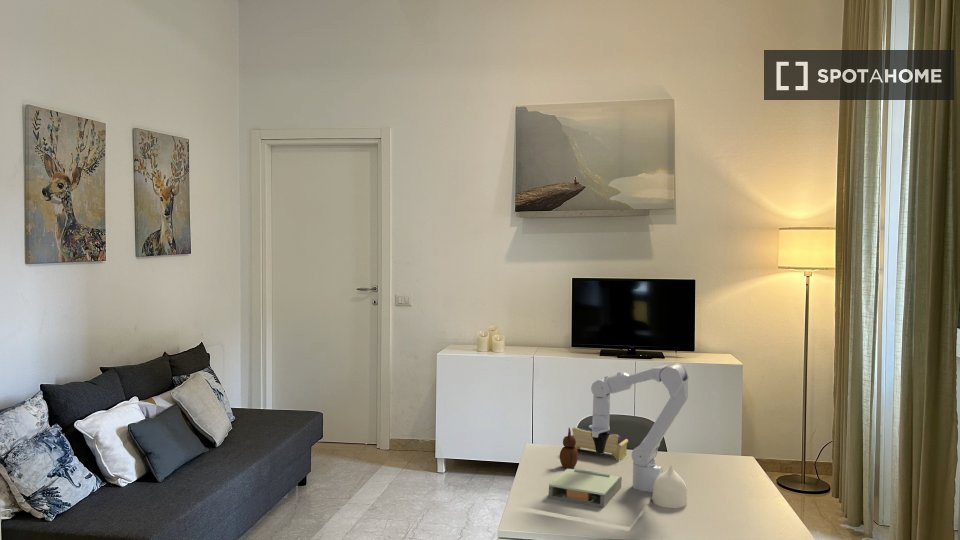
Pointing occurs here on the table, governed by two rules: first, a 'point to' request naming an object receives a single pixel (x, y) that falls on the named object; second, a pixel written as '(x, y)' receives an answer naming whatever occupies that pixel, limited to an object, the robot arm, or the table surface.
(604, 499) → the housing
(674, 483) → the teardrop
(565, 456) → the wooden figurine
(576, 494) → the block
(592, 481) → the lid
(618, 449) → the toy sofa
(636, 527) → the table surface
